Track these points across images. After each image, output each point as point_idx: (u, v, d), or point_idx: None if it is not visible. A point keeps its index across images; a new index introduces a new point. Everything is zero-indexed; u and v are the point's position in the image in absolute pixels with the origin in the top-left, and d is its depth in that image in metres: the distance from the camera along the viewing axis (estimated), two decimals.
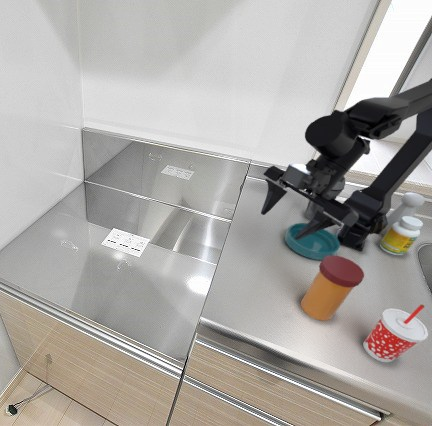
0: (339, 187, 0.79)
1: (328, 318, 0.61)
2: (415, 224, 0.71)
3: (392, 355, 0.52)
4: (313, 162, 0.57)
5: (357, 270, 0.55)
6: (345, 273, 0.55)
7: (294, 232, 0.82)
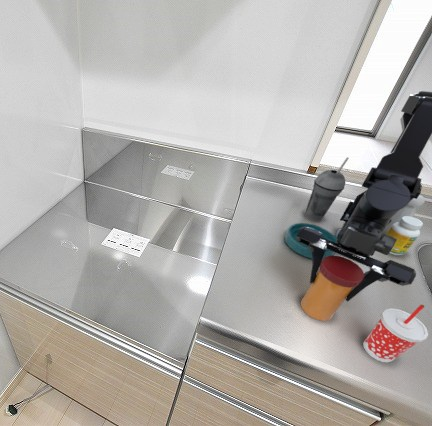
0: (339, 187, 0.79)
1: (328, 318, 0.61)
2: (415, 224, 0.71)
3: (392, 355, 0.52)
4: (357, 223, 0.56)
5: (357, 270, 0.55)
6: (345, 273, 0.55)
7: (294, 232, 0.82)
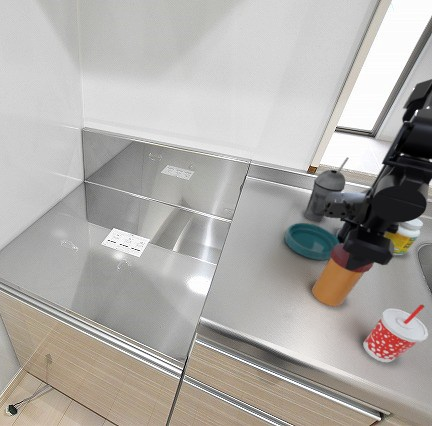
0: (339, 187, 0.79)
1: (339, 303, 0.63)
2: (415, 224, 0.71)
3: (392, 355, 0.52)
4: (367, 190, 0.53)
5: None
6: None
7: (294, 232, 0.82)
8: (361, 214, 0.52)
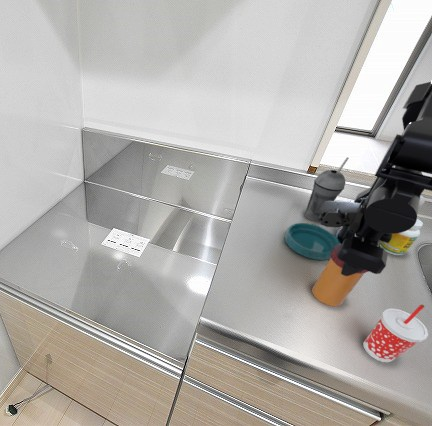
0: (339, 187, 0.79)
1: (339, 303, 0.63)
2: (415, 224, 0.71)
3: (392, 355, 0.52)
4: (362, 200, 0.54)
5: None
6: None
7: (294, 232, 0.82)
8: (355, 223, 0.53)
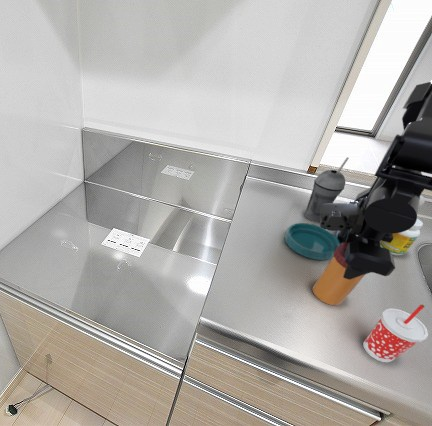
0: (339, 187, 0.79)
1: (339, 303, 0.64)
2: (415, 224, 0.71)
3: (392, 355, 0.52)
4: (360, 201, 0.54)
5: None
6: None
7: (294, 232, 0.82)
8: (358, 225, 0.52)
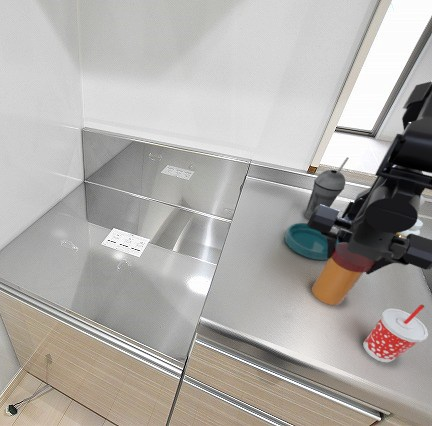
0: (339, 187, 0.79)
1: (339, 302, 0.64)
2: (415, 224, 0.71)
3: (392, 355, 0.52)
4: None
5: (341, 247, 0.59)
6: None
7: (294, 232, 0.82)
8: None
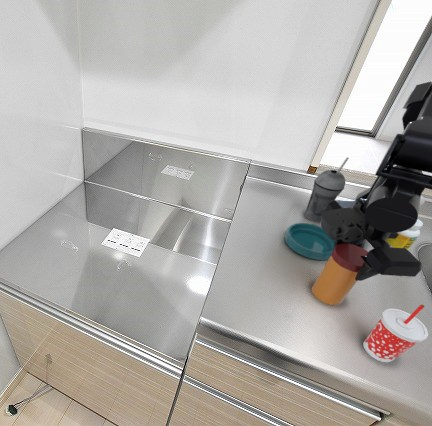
0: (339, 187, 0.79)
1: (339, 302, 0.64)
2: (415, 224, 0.71)
3: (392, 355, 0.52)
4: (359, 204, 0.53)
5: (341, 248, 0.60)
6: (356, 251, 0.59)
7: (294, 232, 0.82)
8: (369, 230, 0.51)
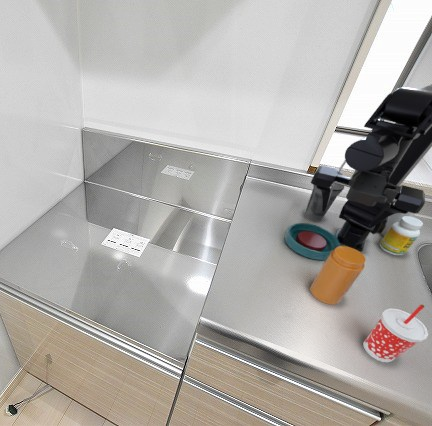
0: (339, 187, 0.79)
1: (338, 301, 0.64)
2: (415, 224, 0.71)
3: (392, 355, 0.52)
4: None
5: (306, 241, 0.77)
6: (306, 236, 0.79)
7: (294, 232, 0.82)
8: None
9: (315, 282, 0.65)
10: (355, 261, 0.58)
